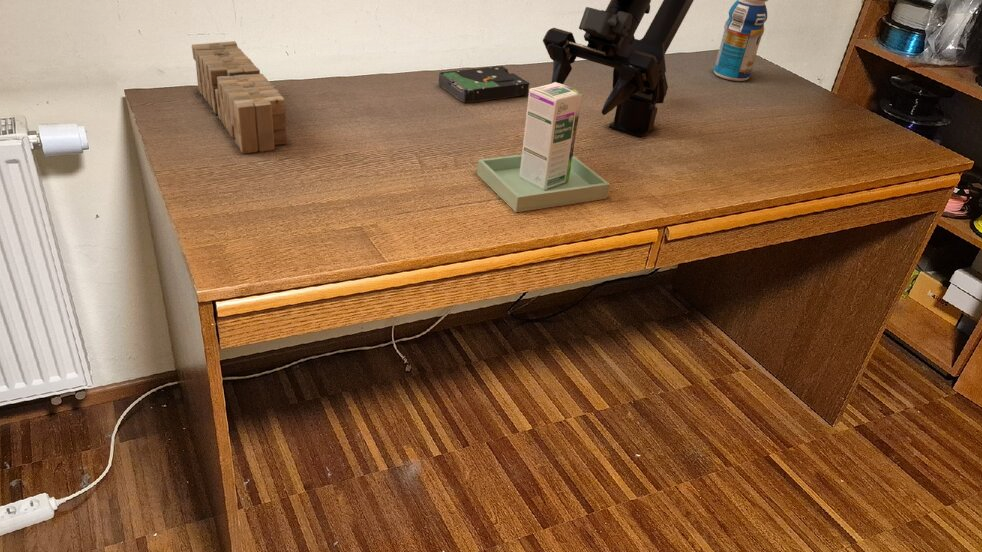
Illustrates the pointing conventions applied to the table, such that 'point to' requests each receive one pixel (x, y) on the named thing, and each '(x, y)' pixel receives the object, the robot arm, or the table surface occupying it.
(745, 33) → the beverage bottle
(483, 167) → the tray
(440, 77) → the disk drive
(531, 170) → the syrup box
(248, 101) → the block tower
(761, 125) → the table surface
